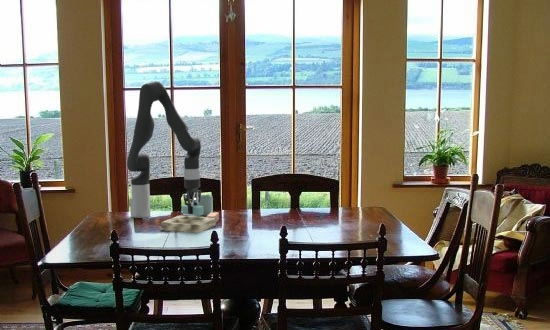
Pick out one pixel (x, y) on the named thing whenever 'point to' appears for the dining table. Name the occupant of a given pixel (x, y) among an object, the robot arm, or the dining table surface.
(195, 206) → the batten teal
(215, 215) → the block
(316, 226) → the dining table surface
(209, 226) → the slot rack
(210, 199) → the cup
